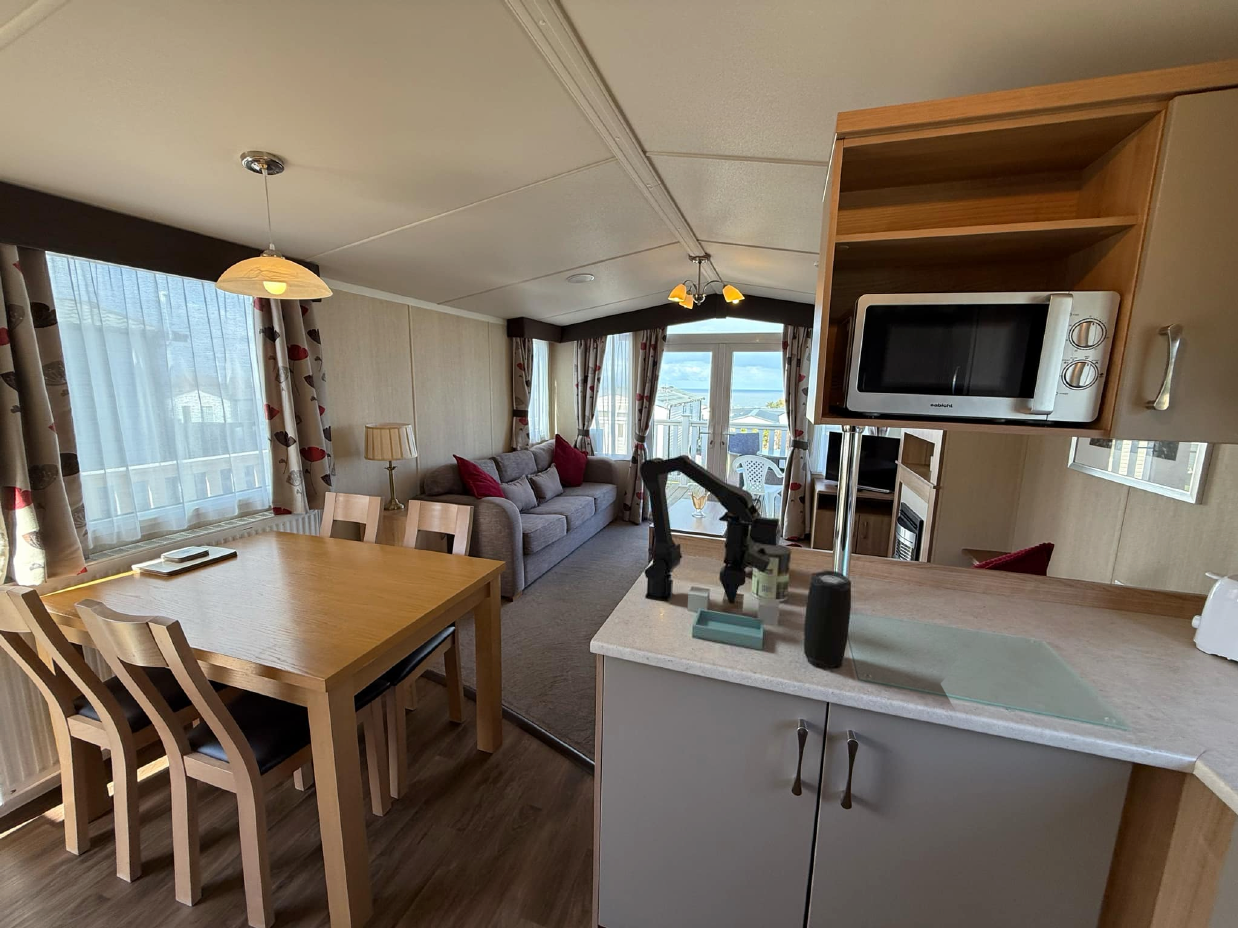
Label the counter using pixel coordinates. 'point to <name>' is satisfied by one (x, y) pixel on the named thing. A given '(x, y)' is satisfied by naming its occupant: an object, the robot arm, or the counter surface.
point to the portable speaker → (827, 619)
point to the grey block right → (768, 610)
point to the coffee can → (773, 574)
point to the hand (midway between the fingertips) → (733, 596)
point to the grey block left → (698, 599)
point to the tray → (728, 628)
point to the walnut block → (733, 605)
